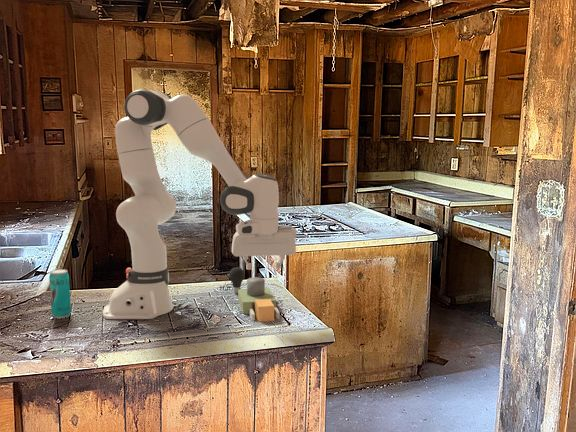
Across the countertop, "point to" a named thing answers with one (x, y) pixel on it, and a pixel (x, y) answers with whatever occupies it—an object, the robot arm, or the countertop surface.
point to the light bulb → (236, 278)
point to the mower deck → (255, 296)
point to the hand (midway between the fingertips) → (263, 268)
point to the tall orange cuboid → (264, 310)
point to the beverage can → (60, 293)
